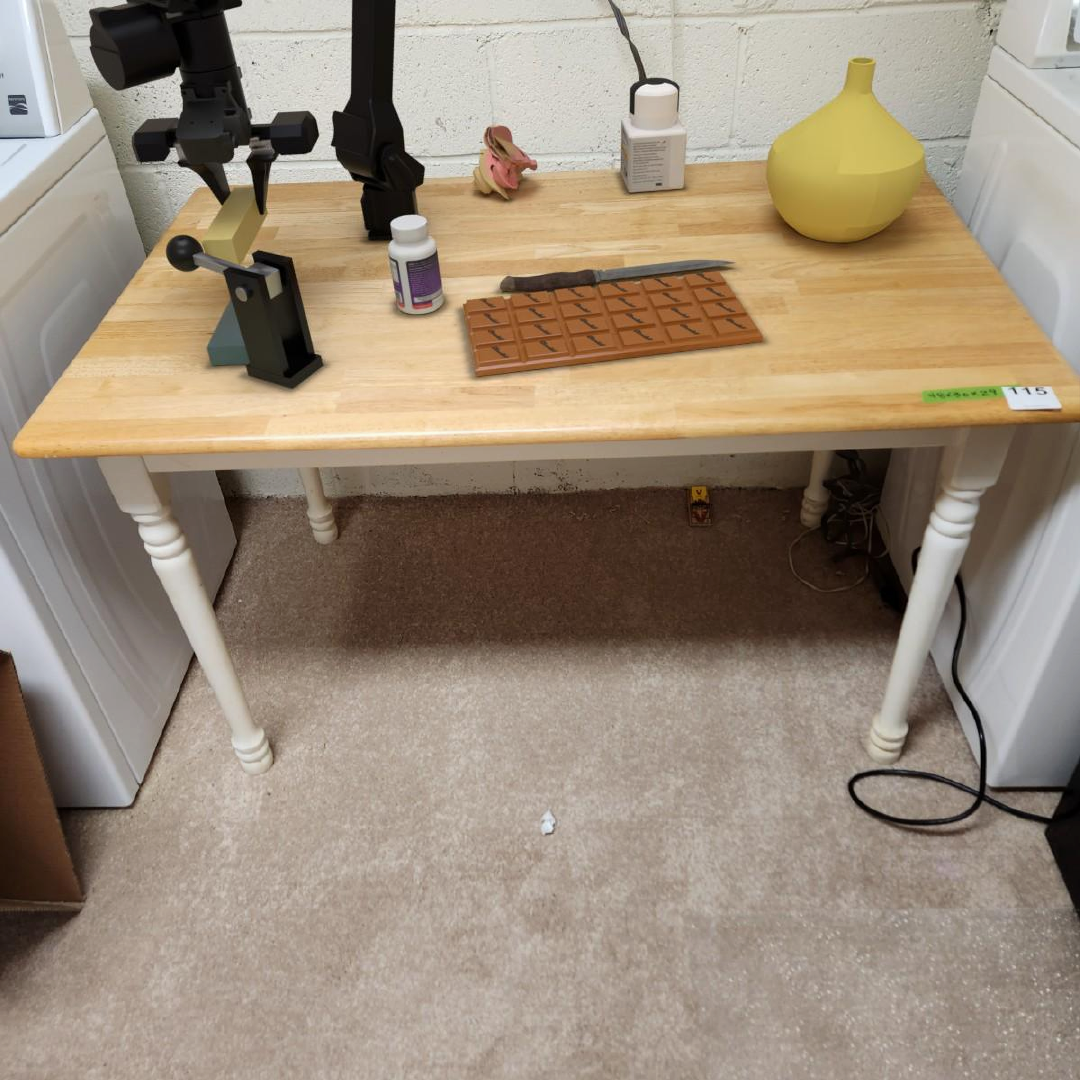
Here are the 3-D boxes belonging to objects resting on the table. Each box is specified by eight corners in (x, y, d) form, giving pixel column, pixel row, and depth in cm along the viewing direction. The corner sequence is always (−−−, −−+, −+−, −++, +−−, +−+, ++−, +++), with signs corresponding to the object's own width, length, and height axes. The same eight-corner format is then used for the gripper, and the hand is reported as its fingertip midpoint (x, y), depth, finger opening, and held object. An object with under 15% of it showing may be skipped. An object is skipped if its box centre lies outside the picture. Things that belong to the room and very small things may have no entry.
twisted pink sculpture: (475, 211, 126) (446, 147, 126) (507, 220, 135) (481, 160, 135) (529, 175, 122) (499, 108, 122) (559, 186, 131) (532, 124, 130)
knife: (729, 258, 111) (730, 247, 110) (738, 271, 108) (739, 260, 107) (498, 285, 108) (497, 274, 107) (502, 298, 106) (501, 287, 105)
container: (620, 173, 132) (621, 75, 124) (673, 168, 133) (678, 71, 124) (628, 193, 127) (630, 93, 118) (684, 189, 127) (690, 88, 118)
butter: (240, 215, 107) (233, 187, 105) (268, 213, 107) (261, 186, 105) (209, 269, 96) (200, 239, 94) (240, 267, 96) (231, 238, 94)
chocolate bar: (463, 309, 104) (462, 297, 103) (720, 279, 107) (721, 267, 106) (476, 376, 93) (475, 364, 93) (761, 341, 96) (763, 329, 95)
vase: (847, 273, 106) (881, 97, 93) (729, 226, 117) (744, 62, 104) (940, 226, 114) (983, 58, 102) (821, 186, 125) (846, 30, 112)
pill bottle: (451, 296, 107) (441, 214, 100) (432, 318, 103) (421, 234, 97) (409, 290, 108) (396, 209, 102) (389, 312, 104) (374, 229, 98)
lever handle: (162, 272, 93) (153, 238, 91) (188, 257, 96) (180, 224, 93) (264, 310, 89) (257, 276, 87) (288, 294, 91) (283, 260, 89)
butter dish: (286, 298, 108) (281, 281, 107) (260, 363, 97) (255, 345, 96) (242, 300, 108) (237, 283, 107) (211, 366, 98) (205, 347, 96)
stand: (244, 377, 95) (212, 271, 88) (283, 350, 99) (255, 246, 91) (289, 391, 93) (260, 283, 85) (326, 362, 97) (302, 256, 89)
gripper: (89, 94, 88) (143, 249, 98) (282, 83, 88) (316, 241, 98) (127, 61, 96) (173, 207, 107) (304, 51, 96) (333, 199, 106)
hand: (247, 214), depth 104 cm, fingers closed on butter, 3 cm apart
